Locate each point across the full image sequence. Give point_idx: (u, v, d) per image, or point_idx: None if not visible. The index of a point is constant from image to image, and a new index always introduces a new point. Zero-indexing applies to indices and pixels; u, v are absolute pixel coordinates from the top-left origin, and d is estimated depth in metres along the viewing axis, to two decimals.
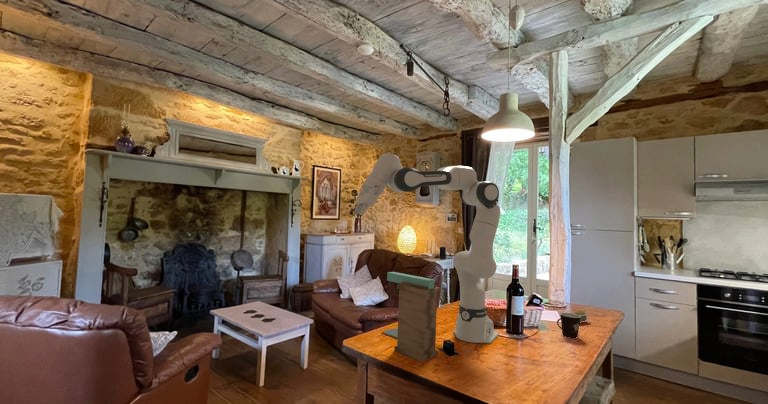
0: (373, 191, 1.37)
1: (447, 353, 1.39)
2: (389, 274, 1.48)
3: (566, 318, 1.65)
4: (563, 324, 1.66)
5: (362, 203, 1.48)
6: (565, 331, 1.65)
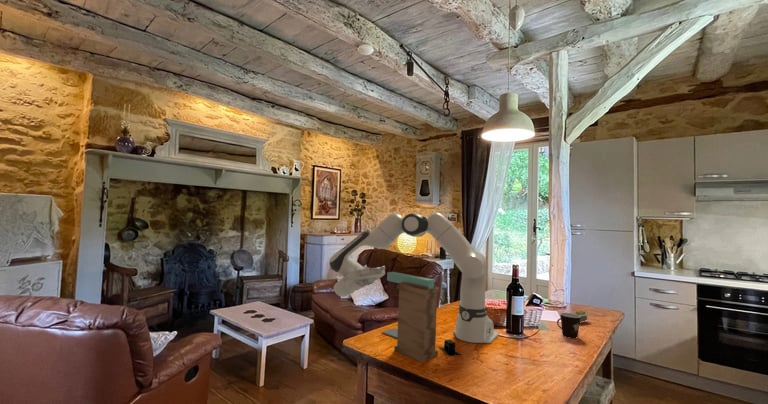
0: (348, 280, 1.54)
1: (447, 353, 1.39)
2: (389, 274, 1.48)
3: (566, 318, 1.65)
4: (563, 324, 1.66)
5: (373, 272, 1.60)
6: (565, 331, 1.65)
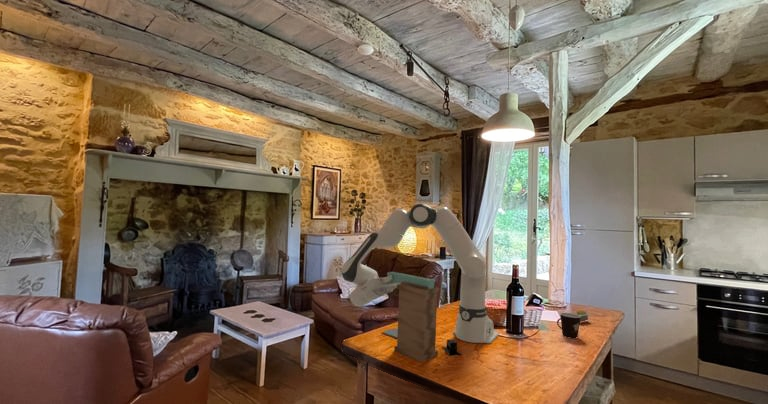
0: (366, 289, 1.46)
1: (449, 352, 1.40)
2: (389, 274, 1.48)
3: (566, 318, 1.65)
4: (563, 324, 1.66)
5: None
6: (565, 331, 1.65)
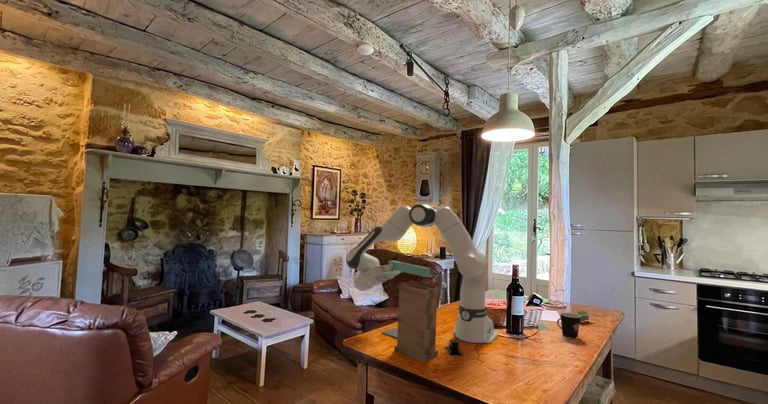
0: (369, 276, 1.61)
1: (450, 352, 1.40)
2: (390, 262, 1.63)
3: (566, 318, 1.65)
4: (563, 324, 1.66)
5: None
6: (565, 331, 1.65)
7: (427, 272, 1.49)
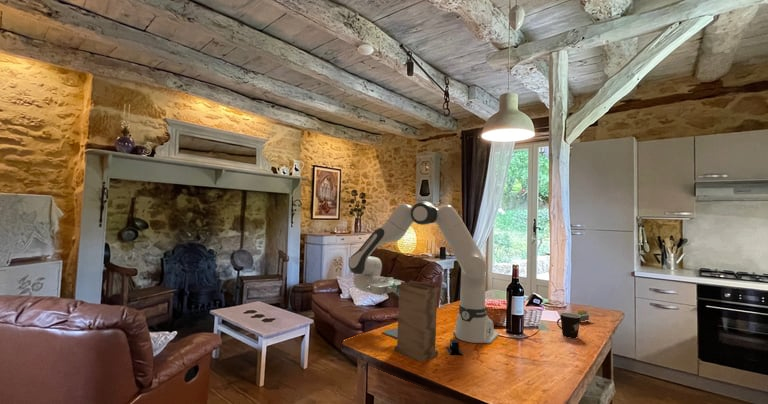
0: (370, 291, 1.60)
1: (450, 352, 1.40)
2: (394, 285, 1.60)
3: (566, 318, 1.65)
4: (563, 324, 1.66)
5: None
6: (565, 331, 1.65)
7: None
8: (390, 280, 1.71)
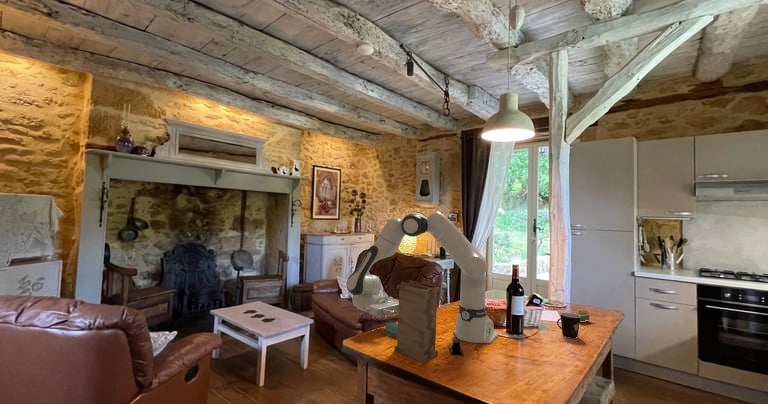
0: (369, 312, 1.59)
1: (451, 352, 1.40)
2: (387, 324, 1.62)
3: (566, 318, 1.65)
4: (563, 324, 1.66)
5: (394, 308, 1.65)
6: (565, 331, 1.65)
7: None
8: (389, 300, 1.70)
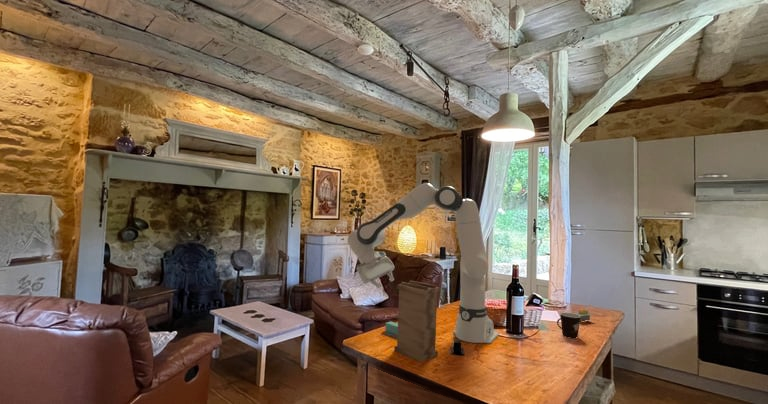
0: (359, 274, 1.59)
1: (452, 352, 1.41)
2: (387, 324, 1.62)
3: (566, 318, 1.65)
4: (563, 324, 1.66)
5: None
6: (565, 331, 1.65)
7: None
8: (382, 259, 1.68)
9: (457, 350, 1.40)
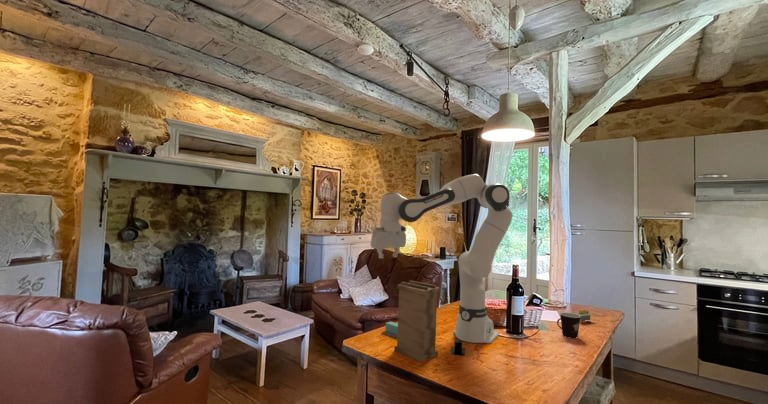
0: (372, 235, 1.54)
1: (452, 351, 1.41)
2: (387, 324, 1.62)
3: (566, 318, 1.65)
4: (563, 324, 1.66)
5: None
6: (565, 331, 1.65)
7: None
8: (399, 234, 1.62)
9: (458, 350, 1.40)
